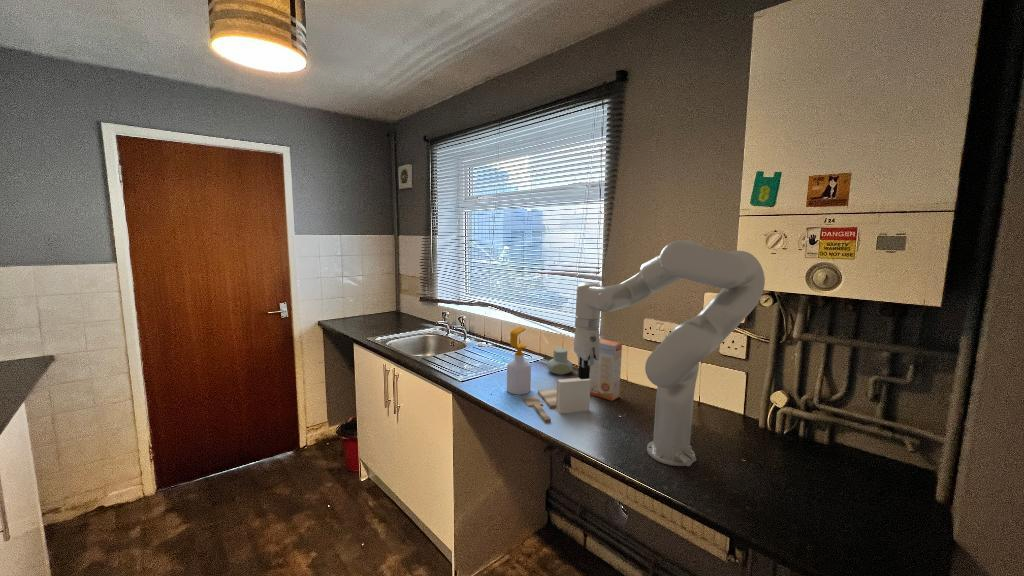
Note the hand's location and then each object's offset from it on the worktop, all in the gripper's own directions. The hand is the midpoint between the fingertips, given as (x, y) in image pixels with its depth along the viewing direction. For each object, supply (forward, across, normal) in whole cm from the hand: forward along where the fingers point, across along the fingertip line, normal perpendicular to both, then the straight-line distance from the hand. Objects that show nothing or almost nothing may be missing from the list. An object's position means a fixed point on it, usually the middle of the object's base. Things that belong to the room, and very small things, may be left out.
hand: (583, 378), depth 136 cm
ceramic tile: (+15, +8, 0) cm, 17 cm away
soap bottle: (+16, +29, +13) cm, 35 cm away
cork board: (+15, +18, 0) cm, 24 cm away
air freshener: (+16, +45, -10) cm, 49 cm away
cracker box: (+15, +19, -16) cm, 29 cm away
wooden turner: (+15, +11, +11) cm, 22 cm away
